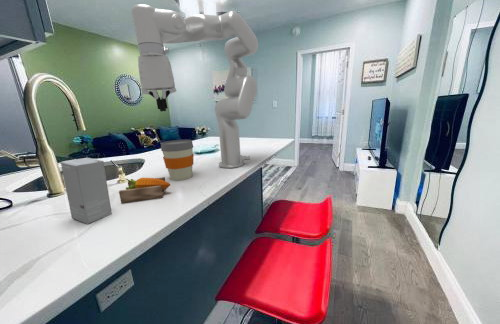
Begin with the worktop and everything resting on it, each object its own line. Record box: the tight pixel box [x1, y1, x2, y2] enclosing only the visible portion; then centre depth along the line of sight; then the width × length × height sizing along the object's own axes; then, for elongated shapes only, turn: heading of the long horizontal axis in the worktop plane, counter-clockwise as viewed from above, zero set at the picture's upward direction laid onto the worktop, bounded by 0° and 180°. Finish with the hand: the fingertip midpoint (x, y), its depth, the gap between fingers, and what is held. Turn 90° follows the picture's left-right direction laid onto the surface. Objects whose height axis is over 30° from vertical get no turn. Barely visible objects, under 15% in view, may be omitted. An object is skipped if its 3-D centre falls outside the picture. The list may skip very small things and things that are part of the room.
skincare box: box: [60, 157, 113, 225], centre depth 55 cm, size 8×7×16 cm
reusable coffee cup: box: [160, 139, 194, 181], centre depth 86 cm, size 13×13×15 cm
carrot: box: [125, 177, 171, 190], centre depth 70 cm, size 5×5×15 cm
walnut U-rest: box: [118, 176, 167, 205], centre depth 70 cm, size 12×10×4 cm
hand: (163, 111), depth 71 cm, fingers closed
